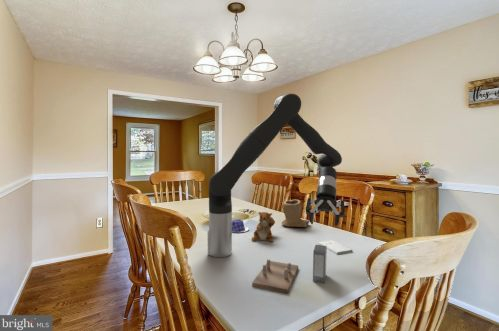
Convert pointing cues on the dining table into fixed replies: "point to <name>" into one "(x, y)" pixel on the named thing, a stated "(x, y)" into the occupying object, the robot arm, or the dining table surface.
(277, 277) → the wooden peg stand
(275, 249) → the dining table surface
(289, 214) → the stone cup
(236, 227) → the pudding
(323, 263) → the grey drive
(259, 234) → the stuffed squirrel
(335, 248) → the external hard drive
